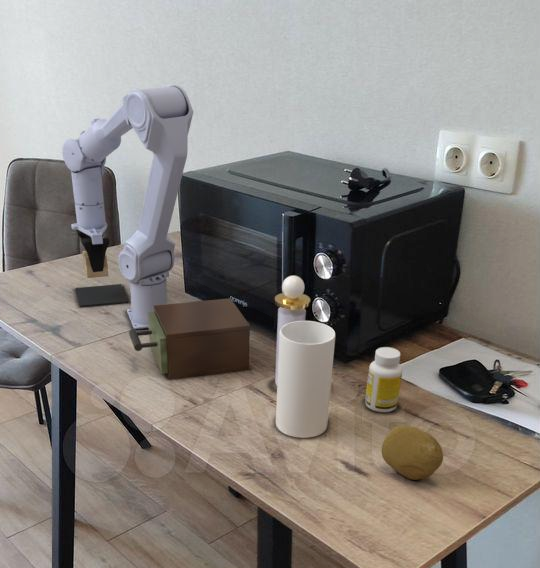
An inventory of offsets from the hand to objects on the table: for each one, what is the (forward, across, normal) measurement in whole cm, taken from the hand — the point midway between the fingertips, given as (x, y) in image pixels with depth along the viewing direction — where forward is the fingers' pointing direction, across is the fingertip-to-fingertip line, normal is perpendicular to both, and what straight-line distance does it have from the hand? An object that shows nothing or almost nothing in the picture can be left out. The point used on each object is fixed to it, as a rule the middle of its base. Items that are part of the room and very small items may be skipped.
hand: (96, 267), depth 149 cm
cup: (+7, +60, +23) cm, 65 cm away
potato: (+7, +78, +32) cm, 84 cm away
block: (+1, 0, 0) cm, 1 cm away
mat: (+7, 0, 0) cm, 7 cm away
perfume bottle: (+7, +48, +25) cm, 55 cm away
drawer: (+6, +34, +10) cm, 36 cm away
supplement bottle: (+7, +59, +38) cm, 70 cm away
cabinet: (+7, +34, +13) cm, 37 cm away
